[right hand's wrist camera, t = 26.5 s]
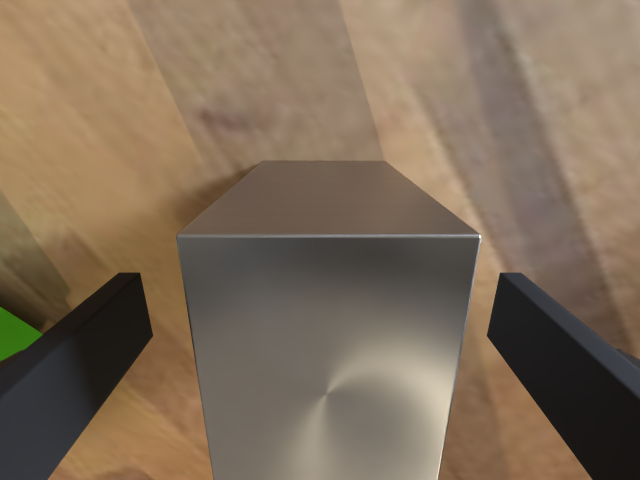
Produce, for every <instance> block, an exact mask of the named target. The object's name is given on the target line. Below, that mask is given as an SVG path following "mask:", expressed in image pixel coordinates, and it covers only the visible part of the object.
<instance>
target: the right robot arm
mask: <svg viewBox="0 0 640 480" xmlns="http://www.w3.org/2000/svg"><path fill="white" fill-rule="evenodd" d="M152 337H153V333H152V328H151V323H150V319H149V314H148V309H147V304H146V299H145V295H144V290H143V285H142V280H141V275H140V273H118V274H117V275H116V276H114V277H113V278H112V279H111V280H109V281H108V282H107V283H106V284H104V285H103V286H102V287H101V288H100V289H98V290H97V291H96V292H95V293H93V294H92V295H91V296H90V297H89V298H87V299H86V300H85V301H84V302H82V303H81V304H80V305H79V306H77V307H76V308H75V309H74V310H73V311H71V312H70V313H69V314H68V315H66V316H65V317H64V318H63V319H61V320H60V321H59V322H58V323H57V324H55V325H54V326H53V327H52V328H50V329H49V330H48V331H47V332H46V333H44V334H43V335H42V336H41V337H39V338H38V339H37V340H36V341H34V342H33V343H32V344H31V345H30V346H28V347H27V348H26V349H25V350H20V351H19V352H17V353H15V354H13V355H11V356H9V357H7V358H6V359H4V360H2V361H0V480H47V479H48V478H49V477H50V475H51V474H52V473H53V471H54V470H55V468H56V467H57V466H58V464H59V463H60V462H61V460H62V459H63V458H64V456H65V455H66V454H67V452H68V451H69V449H70V448H71V447H72V445H73V444H74V443H75V441H76V440H77V439H78V437H79V436H80V434H81V433H82V432H83V430H84V429H85V428H86V426H87V425H88V424H89V422H90V421H91V420H92V418H93V417H94V415H95V414H96V413H97V411H98V410H99V409H100V407H101V406H102V405H103V403H104V402H105V401H106V399H107V398H108V396H109V395H110V394H111V392H112V391H113V390H114V388H115V387H116V386H117V384H118V383H119V381H120V380H121V379H122V377H123V376H124V375H125V373H126V372H127V371H128V369H129V368H130V367H131V365H132V364H133V362H134V361H135V360H136V358H137V357H138V356H139V354H140V353H141V352H142V350H143V349H144V347H145V346H146V345H147V343H148V342H149V341H150V339H151V338H152ZM487 337H488V338H489V339H490V341H491V342H492V343H493V345H494V346H495V348H496V349H497V350H498V352H499V353H500V354H501V356H502V357H503V358H504V360H505V361H506V362H507V364H508V365H509V367H510V368H511V369H512V371H513V372H514V373H515V375H516V376H517V377H518V379H519V380H520V381H521V383H522V384H523V386H524V387H525V388H526V390H527V391H528V392H529V394H530V395H531V396H532V398H533V399H534V401H535V402H536V403H537V405H538V406H539V407H540V409H541V410H542V411H543V413H544V414H545V415H546V417H547V418H548V420H549V421H550V422H551V424H552V425H553V426H554V428H555V429H556V430H557V432H558V433H559V434H560V436H561V437H562V439H563V440H564V441H565V443H566V444H567V445H568V447H569V448H570V449H571V451H572V452H573V454H574V455H575V456H576V458H577V459H578V460H579V462H580V463H581V464H582V466H583V467H584V468H585V470H586V471H587V473H588V474H589V475H590V477H591V478H592V479H593V480H640V360H639V359H637V358H635V357H634V356H632V355H630V354H628V353H626V352H624V351H622V350H620V349H614V348H613V347H612V346H610V345H609V344H608V343H607V342H606V341H604V340H603V339H602V338H601V337H599V336H598V335H597V334H596V333H594V332H593V331H592V330H591V329H590V328H588V327H587V326H586V325H585V324H583V323H582V322H581V321H580V320H579V319H577V318H576V317H575V316H574V315H572V314H571V313H570V312H569V311H567V310H566V309H565V308H564V307H563V306H561V305H560V304H559V303H558V302H556V301H555V300H554V299H553V298H551V297H550V296H549V295H548V294H547V293H545V292H544V291H543V290H542V289H540V288H539V287H538V286H537V285H536V284H534V283H533V282H532V281H531V280H529V279H528V278H527V277H526V276H524V275H523V274H522V273H500V275H499V280H498V285H497V290H496V295H495V299H494V304H493V309H492V314H491V319H490V323H489V328H488V333H487Z"/></svg>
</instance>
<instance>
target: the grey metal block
mask: <svg viewBox="0 0 640 480" xmlns="http://www.w3.org/2000/svg"><path fill="white" fill-rule="evenodd" d="M176 239H177V246H178V252H179V259H180V265H181V271H182V278H183V284H184V291H185V297H186V304H187V310H188V317H189V323H190V330H191V336H192V343H193V349H194V356H195V362H196V369H197V375H198V382H199V388H200V395H201V401H202V408H203V414H204V421H205V427H206V433H207V440H208V446H209V453H210V459H211V466H212V472H213V479H214V480H438V478H439V473H440V467H441V461H442V456H443V450H444V444H445V439H446V433H447V428H448V422H449V416H450V411H451V405H452V399H453V394H454V388H455V382H456V377H457V371H458V366H459V360H460V354H461V349H462V343H463V337H464V332H465V326H466V321H467V315H468V309H469V304H470V298H471V292H472V287H473V281H474V276H475V270H476V264H477V259H478V253H479V247H480V242H481V235H480V234H479V233H478V232H476V231H475V230H474V229H473V228H471V227H470V226H469V225H467V224H466V223H465V222H463V221H462V220H461V219H460V218H458V217H457V216H456V215H454V214H453V213H452V212H451V211H449V210H448V209H447V208H445V207H444V206H443V205H442V204H440V203H439V202H438V201H436V200H435V199H434V198H432V197H431V196H430V195H429V194H427V193H426V192H425V191H423V190H422V189H421V188H420V187H418V186H417V185H416V184H414V183H413V182H412V181H411V180H409V179H408V178H407V177H405V176H404V175H403V174H401V173H400V172H399V171H398V170H396V169H395V168H394V167H392V166H391V165H390V164H389V163H387V162H386V161H262V162H261V163H260V164H258V165H257V166H256V167H255V168H254V169H253V170H251V171H250V172H249V173H248V174H247V175H245V176H244V177H243V178H242V179H241V180H240V181H238V182H237V183H236V184H235V185H234V186H233V187H231V188H230V189H229V190H228V191H227V192H225V193H224V194H223V195H222V196H221V197H220V198H218V199H217V200H216V201H215V202H214V203H212V204H211V205H210V206H209V207H208V208H207V209H205V210H204V211H203V212H202V213H201V214H200V215H198V216H197V217H196V218H195V219H194V220H192V221H191V222H190V223H189V224H188V225H187V226H185V227H184V228H183V229H182V230H181V231H180V232H178V233H177V235H176Z"/></svg>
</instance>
